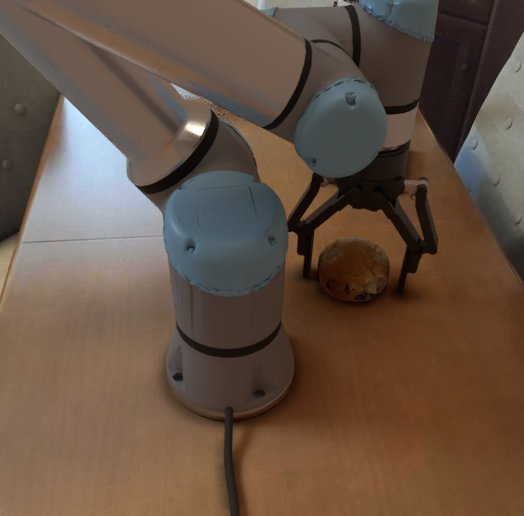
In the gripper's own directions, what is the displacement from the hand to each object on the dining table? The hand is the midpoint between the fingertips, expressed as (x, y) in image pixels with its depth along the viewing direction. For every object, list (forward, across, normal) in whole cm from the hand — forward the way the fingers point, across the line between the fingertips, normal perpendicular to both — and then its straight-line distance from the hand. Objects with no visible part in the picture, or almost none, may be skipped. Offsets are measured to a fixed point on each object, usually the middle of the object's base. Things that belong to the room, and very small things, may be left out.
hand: (352, 280), depth 83 cm
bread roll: (0, 0, 0) cm, 0 cm away
